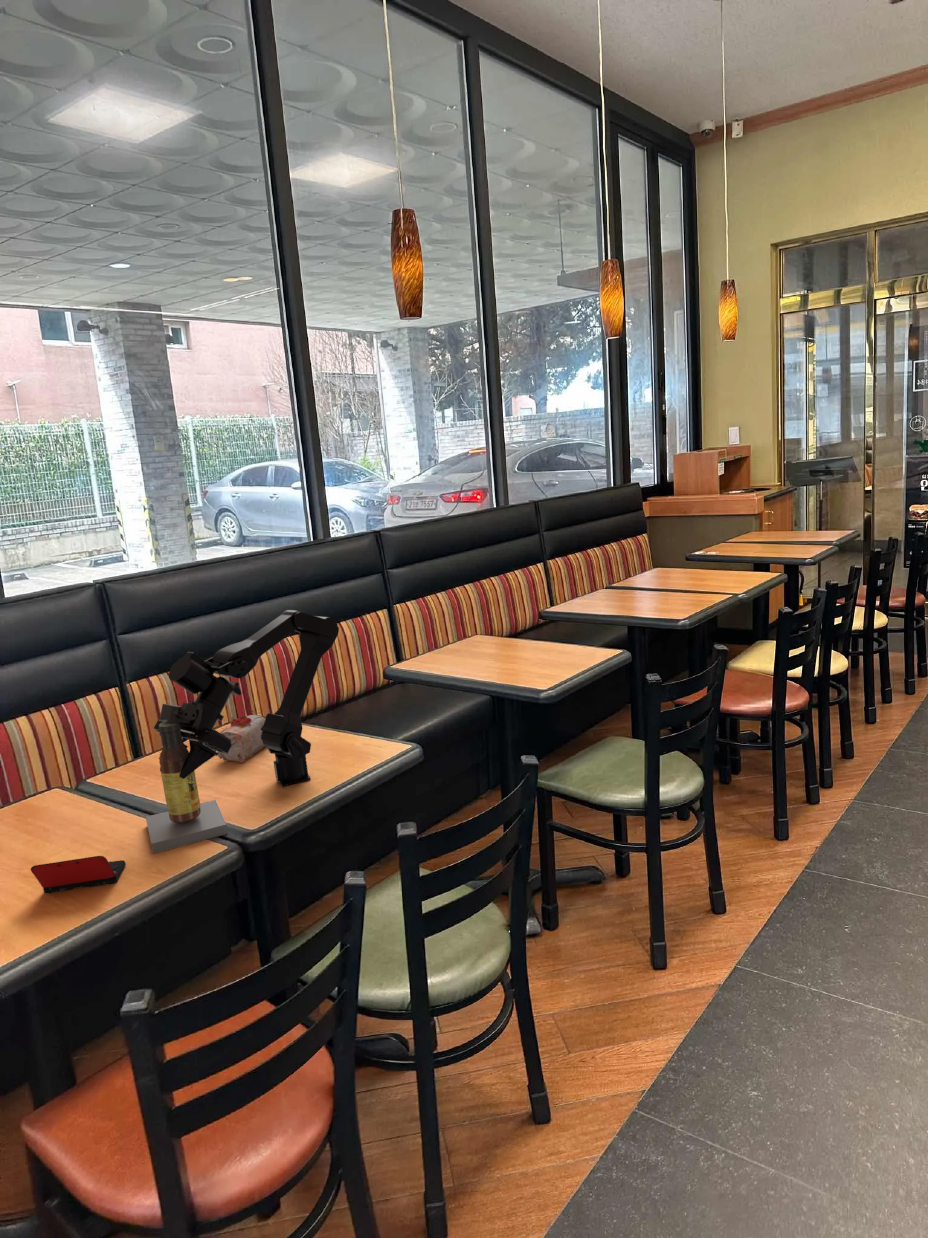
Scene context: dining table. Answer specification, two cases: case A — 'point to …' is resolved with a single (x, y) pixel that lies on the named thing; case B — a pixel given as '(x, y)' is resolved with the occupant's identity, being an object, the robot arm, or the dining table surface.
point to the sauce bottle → (177, 776)
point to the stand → (185, 828)
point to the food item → (243, 738)
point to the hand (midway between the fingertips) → (171, 774)
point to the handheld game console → (78, 873)
